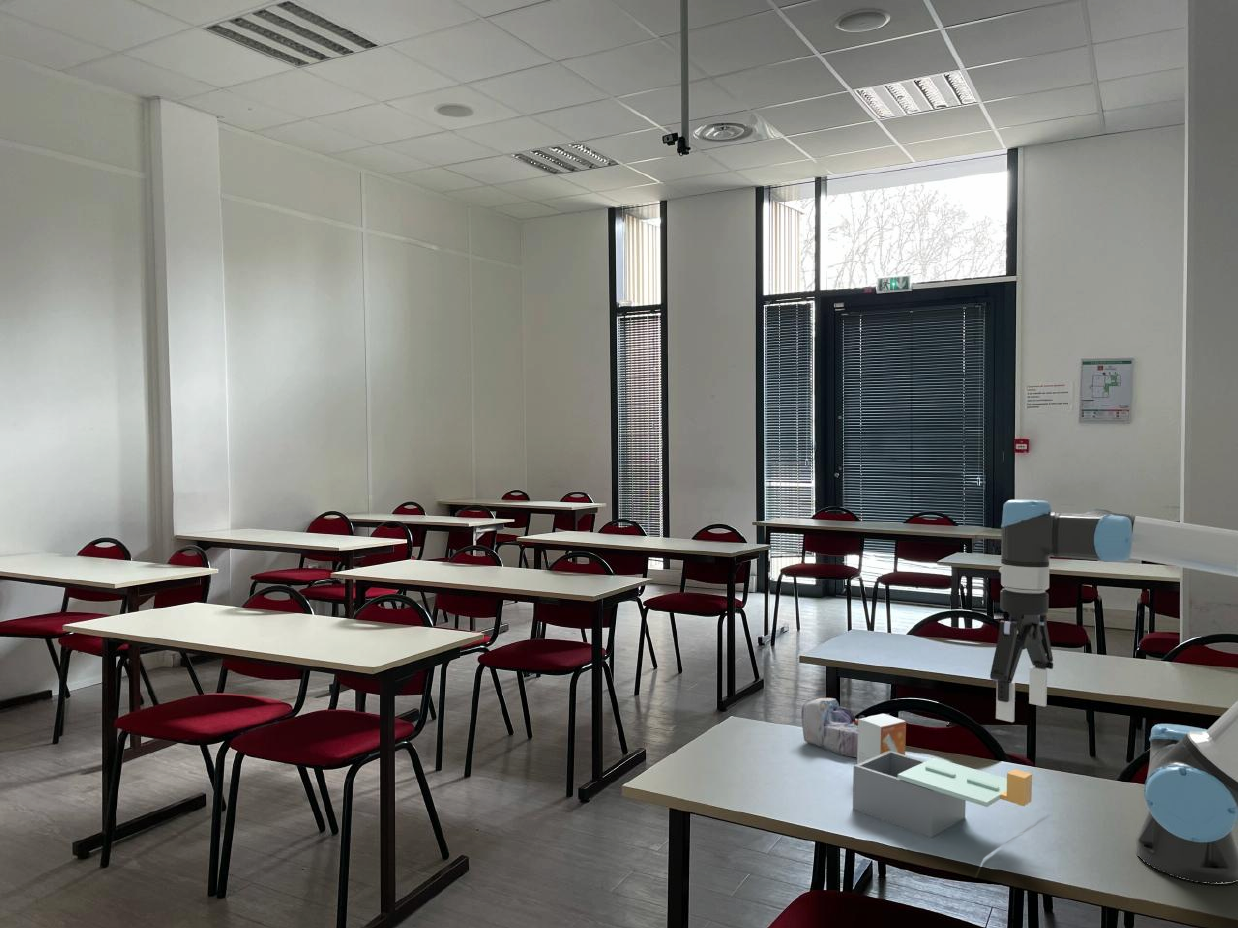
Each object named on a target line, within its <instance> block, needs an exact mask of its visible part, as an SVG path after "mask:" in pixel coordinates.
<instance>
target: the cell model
mask: <svg viewBox="0 0 1238 928" xmlns="http://www.w3.org/2000/svg"><path fill="white" fill-rule="evenodd" d="M800 713H801V715H800V716H801V717H800V718H801V727H802V736H803V741H804V742H806V743H807V744H808V743H809V744H812V745H816V746H819V747H822V748H823V749H825V750H828V751H831V752H833V753H835V754H838V755H842V756H845V757H852V758H853V757H855V758H856V759H857V748H858V719H862V718H866V717H865V715H862V714H860V715H859V716H858V718H856V717H855V716H854V714H853V713H852V711H851V709H850V708H848V707H844V706H840V704H839V702H838V700H837V699H836V698H833V697H819V698H816V699H814V700H811V701H807V702H805V703H804V704H803V705H802V707H801V712H800ZM874 715H875V714H873V715H872V716H874Z"/></svg>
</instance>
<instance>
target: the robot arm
mask: <svg viewBox="0 0 1238 928" xmlns="http://www.w3.org/2000/svg"><path fill="white" fill-rule="evenodd" d="M1002 509H1003V510H1002V520H1001V525H1000V528H1001V529H1000V530H1001V533H1000V534H1001V539H1000V540H1001V542H1000V543H1001V547H1000V548H1001V559H1000V562H1001V563H1000V565H1001V567H999V569H998V572H999V573H1000V584H1001V586H1002V587H1003V588H1002V589H1001V590H1000V601H999V603H1000V604H999V605H1000V606H999V608H1000V610H1002V611H1003V612H1005V613H1008V615H1009V619H1008V620H1007V621H1006V620H1000V622H999V628H998V629H999V631H998V638H997V642H996V646H995V651H994V656H993V661H992V665H991V669H990V675H989V677H990V680H991V681H996V697H995V699H996V701H995V703H996V705H995V706H996V707H995V709H996V710H995V719H996V720H1000V721H1005V722H1008V723H1009V722H1010V723H1014V722H1015V702H1016V699H1015V698H1016V682H1014V681H1013V679H1014V676H1015V674H1016V670H1017V667H1018V665H1019V661H1020V658H1021V655H1022V653H1023V651H1024V650H1026V652H1027V654H1028V656H1029V659H1030V661H1031V664H1032V666H1030V667H1029V686H1028V687H1029V688H1028V689H1029V690H1028V691H1029V692H1028V697H1029V698H1028V699H1029V700H1028V704H1031V705H1036V706H1040V707H1047V699H1048V696H1047V695H1048V693H1047V692H1048V669H1049V670H1053V668H1054V663H1053V662H1054V657H1053V651H1052V647H1051V640H1050V636H1049V630H1048V626H1047V625H1048V624H1047V623H1048V621H1047V619H1048V618H1047V614H1048V613H1049V600H1050V599H1049V597H1050V596H1049V593H1048V592H1047V590H1048V589H1050V558H1051V557H1052V558H1066V559H1067V558H1068V559H1080V560H1093V561H1101V562H1105V563H1106V562H1107V563H1108V562H1127V561H1129V559H1134V560H1139V561H1145V562H1150V563H1155V564H1163V565H1167V566H1172V567H1173V566H1174V567H1179V568H1183V569H1184V568H1185V569H1190V570H1196V571H1201V572H1208V573H1212V574H1213V573H1214V574H1218V575H1225V576H1231V577H1236V578H1238V530H1234V529H1227V528H1221V527H1215V526H1214V527H1213V526H1207V525H1200V524H1194V523H1188V522H1180V521H1173V520H1167V519H1161V518H1153V517H1147V516H1145V517H1144V516H1139V515H1130V514H1124V513H1117V512H1113V511H1111V510H1107V509H1099V508H1096V509H1092V510H1089V511H1085V513H1084V512H1083V513H1061V512H1054V511H1052V507H1051V503H1050V502H1049V501H1047V500H1039V499H1037V500H1036V499H1009V500H1007V501H1006V502H1004V503H1003V508H1002ZM1148 740H1149V742H1150V749H1149V750H1150V751H1149V752H1150V753H1149V765H1148V770H1147V778H1146V780H1145V782H1144V787H1143V793H1144V797H1145V802H1146V805H1147V808H1148V810H1147V814H1146V815H1145V817H1144V819H1143V823H1142V825H1141V827H1140V829H1139V831H1138V834H1137V837H1136V840H1135V841H1136V842H1135V843H1136V844H1135V854H1136V853H1137V854H1136V855H1139V857H1140V858H1141V859H1142V860H1144V861H1145V862H1146V863H1148V864H1150V865H1151V866H1152V867H1155V868H1156V869H1159V870H1161V871H1164V872H1166V873H1168V874H1172V875H1174V876H1178V877H1181V878H1185V879H1189V880H1193V881H1198V882H1207V883H1208V882H1209V883H1216V882H1217V883H1221V882H1223V883H1225V882H1233V881H1236V880H1238V845H1237V841H1236V839H1235V836H1234V833H1233V829H1234V827H1235V825H1237V821H1238V700H1237V701H1235V702H1234V703H1233V704H1232V706H1230V707H1229V708H1228V709H1227V711H1225V712H1224V713H1223V714H1222V715H1221V716H1220V717H1219V718H1218V719H1217V720H1216V721H1215V722H1214V723H1213V724H1212V725H1211V726H1210V727H1209V728H1208V729H1206V728H1201V727H1195V726H1189V725H1183V724H1182V725H1181V724H1173V723H1157V724H1154V726H1152V728H1151V731H1150V736H1149V739H1148ZM1139 857H1138V858H1139ZM1140 858H1139V859H1140ZM1141 859H1140V860H1141ZM1142 860H1141V861H1142ZM1146 863H1145V864H1146ZM1151 866H1150V867H1151ZM1152 867H1151V868H1152ZM1156 869H1155V870H1156ZM1161 871H1160V872H1161ZM1168 874H1167V875H1168ZM1174 876H1173V877H1174Z"/></svg>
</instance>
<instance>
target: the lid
mask: <svg viewBox="0 0 1238 928" xmlns="http://www.w3.org/2000/svg"><path fill="white" fill-rule="evenodd" d="M924 761H925V762H923V763H921V764H919V765H917V766H914V767H912V768H910V769H908V770H906V771H904V772H902V773H899V774H898V779H900V780H903V781H906V782H909V783H913V784H916V785H919V786H922V787H925V788H928V789H931V790H935V791H938V792H941V793H944V794H947V795H950V796H953V797H956V798H960V799H963V800H966V801H967V802H969V803H973V804H976V805H979V806H982V807H984V808H988V807H990V806H991V805H993V804H995V803H996V802H998V801H1000V800H1003V801H1005V802H1009V803H1013V804H1015V805H1018V806H1021V807H1022V806H1023V807H1026V806H1027V805H1029V804H1030V803H1032V797H1033V796H1032V795H1033V792H1032V790H1033V789H1032V788H1033V787H1032V786H1033V774H1032V773H1030V772H1026V771H1023V770H1019V769H1015V768H1014V769H1012V770H1010V771H1009V772H1007V773H1006V777H1003V776H1000V775H996V774H992V773H989V772H986V771H983V770H979V769H976V768H975V769H974V768H971V767H969V766H966V765H961V764H958V763H954V762H951V761H948V760H945V759H941V758H937V757H932V758H930V759H927V760H924Z"/></svg>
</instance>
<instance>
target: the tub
mask: <svg viewBox="0 0 1238 928" xmlns="http://www.w3.org/2000/svg"><path fill="white" fill-rule="evenodd" d="M925 761H926V760H923V759H920V758H916V757H913V756H910V755H906V754H905V755H903V754H899V753H896V752H893V751H887V752H885V753H882V754H880V755H878V756H875V757H873V758H871V759H868V760H866V761H863V762H861V763H859V764H854V765H853V780H852V781H853V784H852V785H853V786H852V789H853V790H852V810H853V811H856V812H858V813H862V814H865V815H868V816H870V817H873V818H876V819H879V820H881V821H884V822H887V823H889V824H892V825H895V826H897V827H901V828H902V829H905V830H906V829H907V830H908V831H910V832H914V833H916V834H919V835H922V836H925V837H928V838H931V839H932V838H933V837H935V836H937V835H939V834H940V833H942V832H944V831H945V830H946V829H949V828H950V827H952V826H954V825H956V824H957V823H959V822H960V821H962V820H964V819H965V818H966V800H963V799H960V798H956V797H953V796H950V795H947V794H944V793H941V792H938V791H935V790H931V789H928V788H925V787H922V786H919V785H916V784H913V783H909V782H906V781H903V780H900V779H898V774H899V773H902V772H904V771H906V770H908V769H910V768H912V767H914V766H917V765H919V764H921V763H923V762H925Z"/></svg>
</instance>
